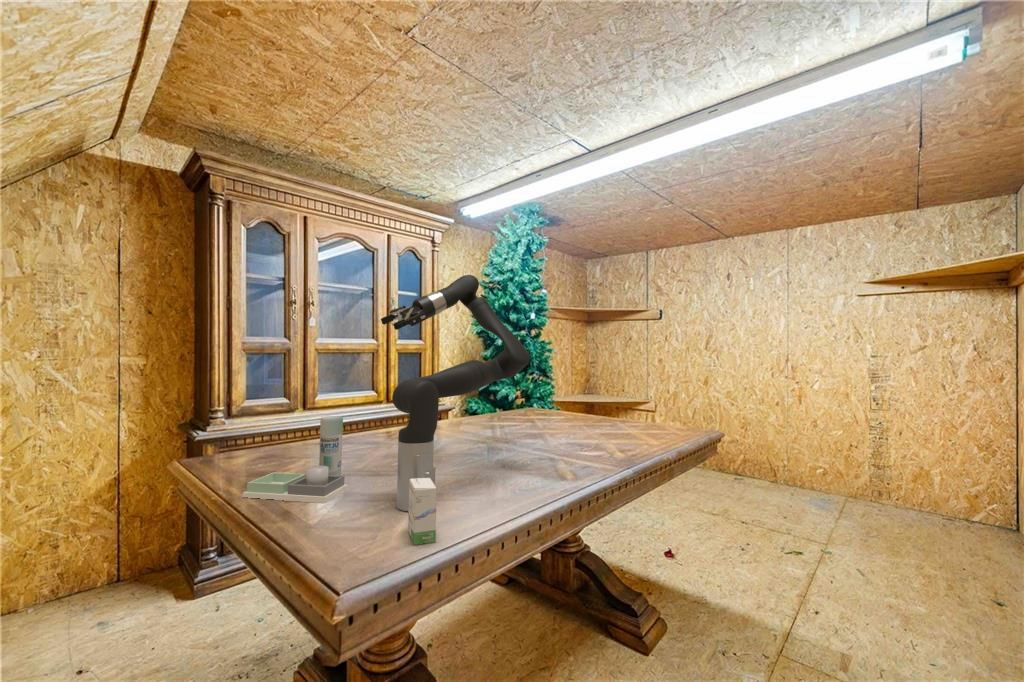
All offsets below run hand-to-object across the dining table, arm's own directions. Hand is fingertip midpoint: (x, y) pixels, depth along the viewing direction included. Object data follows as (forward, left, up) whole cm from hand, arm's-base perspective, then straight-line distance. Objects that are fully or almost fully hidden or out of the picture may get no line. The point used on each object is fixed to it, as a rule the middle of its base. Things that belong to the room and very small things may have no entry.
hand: (387, 324), depth 138 cm
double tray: (+18, +17, -50) cm, 55 cm away
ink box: (-26, +39, -50) cm, 68 cm away
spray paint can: (+16, +5, -50) cm, 52 cm away
